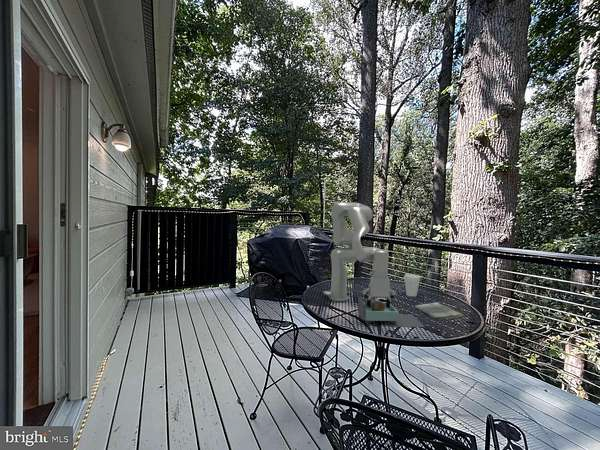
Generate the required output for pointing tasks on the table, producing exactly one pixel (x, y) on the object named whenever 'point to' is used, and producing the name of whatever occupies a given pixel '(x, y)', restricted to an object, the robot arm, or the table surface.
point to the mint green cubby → (377, 313)
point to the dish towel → (438, 311)
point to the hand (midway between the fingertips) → (378, 307)
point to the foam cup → (412, 284)
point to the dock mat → (405, 321)
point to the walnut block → (378, 306)
